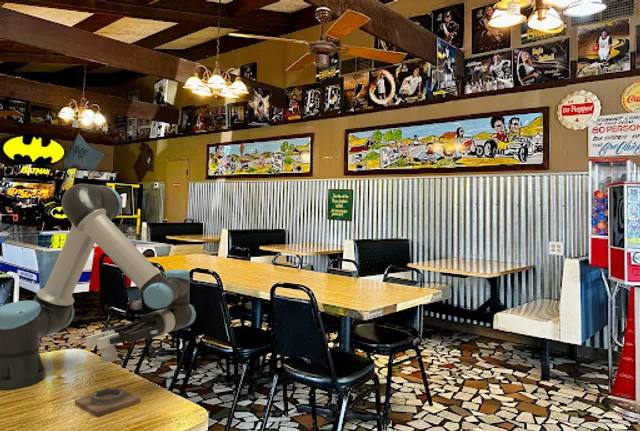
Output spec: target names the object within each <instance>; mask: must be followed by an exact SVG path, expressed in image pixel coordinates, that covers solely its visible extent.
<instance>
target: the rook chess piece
mask: <svg viewBox="0 0 640 431" xmlns="http://www.w3.org/2000/svg"><path fill="white" fill-rule="evenodd" d="M112 334H115V330H111V331H109V330H107V331H105V333H104V334H103V336H104V337H105V336H109V335H112ZM118 355H119V354H118V351H117V349H116V344H115V345H112V346H109V347H106V348H103V350H102V352H101V353H100V357H101V358H100V361H101V362H102V363H113V362H115V361H117V360H118V359H119V356H118Z"/></svg>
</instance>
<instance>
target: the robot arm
mask: <svg viewBox="0 0 640 431" xmlns="http://www.w3.org/2000/svg"><path fill="white" fill-rule="evenodd" d="M122 207H123V200H122V198H121V196H120V194H119V193H118V192H117V191H116V190H115V189H114V188H112V187H109V186H106V185H103V184H89V183H77V184H74V185H71V186H70V187H68V188H67V190H66V191H65V192H64V193H63V195H62V198H61V208H62V211H63V213H64V215H65V216H66V218H67V220H69V221H70V223H71V224H72V225H71V227H70V230H69V232H68V234H67V237H66V239H65V241H64V243H63V246H62V248H61V250H60V252H59V255H58V257H57V259H56V261H55V264H54V266H53V269H52V270H51V272H50V274H49V277H48V279H47V281H46V283H45V286H44V288H41V289H38V290H37V291H36V293H35V296H34V298H33V300H19V301H16V302H15V301H14V302H13V301H12V302H10V303H6V304H4V305H1V306H0V390H12V389H19V388H25V387H28V386H32V385H35V384H37V383H39V382H41V381H43V380H44V379H45V378H46V367H45V365H44V361H43V360H42V357H41V354H40V339H42V338H44V337H47V336H50V335H52V334H55V333H58V332H60V331H61V330H63V329H65V328H67V327H68V326H69V325H70V323H71V322H72V320H73V319H74V317H75V309H74V303H75V298H74V297H73V293H74V291H75V289H76V287H77V285H78V282H79V280H80V278H81V276H82V273H83V271H84V270H85V267H86V264H87V262H88V260H89V257H90V255H91V253H92V251H93V248H94V246H95V244H96V245H97V246H98V247H99V248H100V249H101V250H102V251H103V252H104V253H105V255H107V257H109V259H110V260H111V261H112V262H113V263H114V264H115V265H116V266H117V267H118V268H119V269H120V271H122V272H123V274H124V275H126V276H127V277H128V279H129V280H130V281H131V282H132V283H133V284H134V285H135V287H137V288H138V289H139V291H140V292H142V297H143V302H144V304H145V305H146V306H147V307H149V308H150V309H153V310H155V311H151V312H149V313H145V314H143V315H142V316H141V317H140V318H139V320H136V321H135V320H134V321H133V322H130V323H127V322H126V321H123V322H121V323H119V324H115V325H112V326H109V327H106V328H103V329H101V332H99V333H96V334H91V335H89V336H86V337H85V338H86V340H85V347H86V348H92V347H95V346H96V350H102V349H104V348H106V347H109V346H112V345H115V346H116V345H118V344H119V343H121V344H124V343H127V344H131V343H134V342H139V341H140V340H145V339H149V340H150V339H154V338H156V337H160V336H165V334H167V333H170V332H174V331H177V330H179V329H184V328H186V327H188V326H190V325H191V324H193V323H194V322H195V320H196V317H197V312H196V311H195V307H194V306H193V305H192V304H190V289H191V288H190V286H191V284H190V283H191V279H190V278H191V277H190V272H189V270H187V269H170V270H167V271H166V272H165V273H166V274H165V276H164V275H163V274H162V273H161V272H160V271H159V270H158V269H157V268H156V266H155V265H153V263H152V262H150V261H149V259H147V257H146V256H145V255H144V254H143V253H142V252H141V251H140V250H139V249H138V248H137V246H136V245H135V244H134V243H133V242H132V241H131V240H130V239H129V238H128V237H127V236H126V235H125V234H124V233H123V232H122V230H120V228H119V227H117V226H116V224H115V223H113V222H112V221H113V220H114V219H115V218H117V217H119V215H120V213H122V212H121V211H122V209H123V208H122ZM107 330H109V331H111V330H115V334H112V335H109V336H105V337H104V336H103V334H104V333H105V331H107Z"/></svg>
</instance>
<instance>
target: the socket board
mask: <svg viewBox="0 0 640 431" xmlns="http://www.w3.org/2000/svg"><path fill="white" fill-rule="evenodd" d="M140 403H141V397H139V396H137V395H135V394H133V393H131V392H129V391H126V390H125V389H123V388H122V387H105V388H101V389H98V390H95V391H93V393H92V394H91V395H87V396H85V397H81V398H78V399H74V405H75V406H76V407H79V408H81V409H82V410H84V411H86V412H87V413H89V414H91V415H93V416H95V417H97V418H100V417H102V416H103V417H104V416H105V415H108V414H111V413H114V412H116V411H120V410H122V409H125V408H129V407H131V406H134V405H136V404H140Z"/></svg>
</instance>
